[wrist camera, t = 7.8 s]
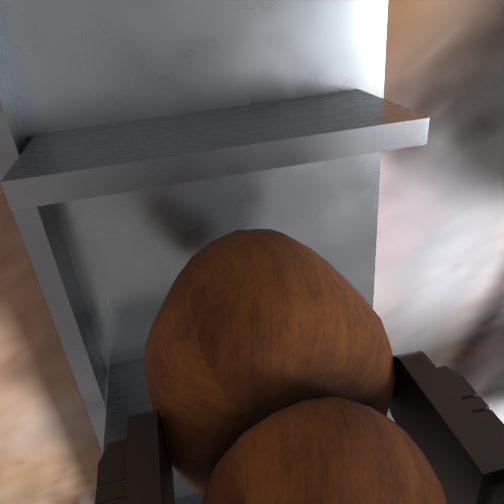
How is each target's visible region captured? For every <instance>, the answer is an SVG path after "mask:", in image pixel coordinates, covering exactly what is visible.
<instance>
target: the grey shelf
mask: <svg viewBox="0 0 504 504" xmlns="http://www.w3.org/2000/svg"><path fill="white" fill-rule="evenodd" d="M387 15H388V0H0V184H1V187H2V190H3V192H4V195H5V198H6V200H7V203H8V206H9V208H10V211H12V214H13V216H14V219H15V222H16V224H17V227H18V230H19V232H20V235H21V238H22V240H23V243H24V246H25V248H26V251H27V254H28V256H29V259H30V262H31V264H32V267H33V270H34V272H35V275H36V278H37V280H38V283H39V286H40V288H41V291H42V294H43V296H44V299H45V302H46V304H47V307H48V310H49V312H50V315H51V318H52V320H53V323H54V326H55V328H56V331H57V334H58V336H59V339H60V342H61V344H62V347H63V350H64V352H65V355H66V358H67V360H68V363H69V366H70V368H71V371H72V374H73V376H74V379H75V382H76V384H77V387H78V390H79V392H80V395H81V398H82V400H83V403H84V406H85V408H86V411H87V414H88V416H89V419H90V422H91V424H92V427H93V430H94V432H95V435H96V438H97V440H98V443H99V446H100V448H101V451H102V454H104V452H105V450H106V448H107V446H108V444H109V443H111V442H116V441H120V440H124V439H127V419H128V415H132V414H137V413H141V412H145V411H150V404H149V398H148V391H147V385H146V378H145V351H144V348H145V345H146V341H147V338H148V335H149V332H150V329H151V326H152V324H153V322H154V320H155V318H156V316H157V314H158V312H159V310H160V308H161V306H162V304H163V302H164V300H165V298H166V296H167V294H168V292H169V290H170V288H171V286H172V284H173V282H174V281H175V279H176V277H177V276H178V274H179V273H180V272H181V270H182V269H183V268H184V266H185V265H186V264H187V262H188V261H189V260H190V259H191V257H192V256H193V255H194V254H196V253H197V252H198V251H200V250H201V249H202V248H204V247H205V246H206V245H208V244H209V243H210V242H212V241H213V240H215V239H218V238H220V237H222V236H224V235H227V234H229V233H231V232H233V231H236V230H248V229H271V230H275V231H278V232H281V233H284V234H285V235H287V236H289V237H291V238H293V239H295V240H297V241H299V242H301V243H302V244H304V245H306V246H308V247H310V248H311V249H312V250H314V251H315V252H316V253H317V254H319V255H320V256H321V257H323V258H324V259H325V260H327V261H328V262H329V263H330V264H331V265H332V266H333V267H334V268H335V269H336V270H337V271H338V272H339V273H340V274H341V275H343V276H344V277H345V278H346V279H347V280H348V281H349V282H350V283H351V284H352V285H353V286H354V288H355V289H356V290H357V291H358V292H359V293H360V294H361V295H362V296H363V297H364V298H365V300H366V301H367V302H368V303H369V305H370V306H371V307H372V309H373V294H374V274H375V254H376V234H377V214H378V194H379V174H380V155H381V152H382V151H388V150H395V149H401V148H407V147H414V146H420V145H426V144H427V139H428V129H429V119H430V118H429V117H427V116H424V115H422V114H419V113H417V112H415V111H412V110H410V109H407V108H405V107H402V106H400V105H397V104H395V103H392V102H390V101H388V100H385V99H383V95H384V75H385V55H386V35H387ZM172 469H173V480H174V493H175V504H202V500H203V495H202V494H201V493H199V492H198V491H197V490H195V489H194V488H193V487H191V486H190V485H189V484H187V483H186V482H185V481H184V480H183V479H182V477H181V476H180V475H179V474H178V472H177V471H176V470H175V468H174V467H173V466H172Z"/></svg>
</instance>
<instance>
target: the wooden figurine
mask: <svg viewBox="0 0 504 504" xmlns="http://www.w3.org/2000/svg"><path fill="white" fill-rule="evenodd" d="M144 351H145V378H146V385H147V391H148V398H149V404H150V410H154V409H158V410H159V412H160V416H161V421H162V426H163V431H164V436H165V441H166V446H167V451H168V456H169V460H170V463H171V464H172V466H173V467H174V468H175V470H176V471H177V472H178V474H179V475H180V476H181V477H182V479H183V480H184V481H185V482H186V483H187V484H189V485H190V486H191V487H193V488H194V489H195V490H197V491H198V492H199V493H201V494H202V495H203V500H202V504H447V501H446V497H445V494H444V490H443V487H442V485H441V483H440V481H439V479H438V478H437V476H436V474H435V472H434V470H433V468H432V467H431V465H430V463H429V461H428V459H427V458H426V456H425V454H424V453H423V452H422V451H421V449H420V448H419V447H418V446H417V444H416V443H415V442H414V441H413V439H412V438H411V437H410V436H409V434H408V433H407V432H406V431H405V430H404V429H402V428H401V427H400V426H399V425H397V424H396V423H395V422H394V421H392V420H391V419H390V418H388V417H386V415H387V412H388V409H389V405H390V402H391V399H392V394H393V389H394V383H395V378H396V367H395V363H394V359H393V355H392V351H391V347H390V343H389V340H388V338H387V335H386V332H385V329H384V327H383V324H382V321H381V319H380V318H379V316H378V315H377V314H376V312H375V311H374V310H373V309H372V307H371V306H370V305H369V303H368V302H367V301H366V300H365V298H364V297H363V296H362V295H361V294H360V293H359V292H358V291H357V290H356V289H355V288H354V286H353V285H352V284H351V283H350V282H349V281H348V280H347V279H346V278H345V277H344V276H343V275H341V274H340V273H339V272H338V271H337V270H336V269H335V268H334V267H333V266H332V265H331V264H330V263H329V262H328V261H327V260H325V259H324V258H323V257H321V256H320V255H319V254H317V253H316V252H315V251H314V250H312V249H311V248H310V247H308V246H306V245H304V244H302V243H301V242H299V241H297V240H295V239H293V238H291V237H289V236H287V235H285V234H284V233H281V232H278V231H275V230H271V229H248V230H236V231H233V232H231V233H229V234H227V235H224V236H222V237H220V238H218V239H215V240H213V241H212V242H210V243H209V244H208V245H206V246H205V247H204V248H202V249H201V250H200V251H198V252H197V253H196V254H194V255H193V256H192V257H191V259H190V260H189V261H188V262H187V264H186V265H185V266H184V268H183V269H182V270H181V272H180V273H179V274H178V276H177V277H176V279H175V281H174V282H173V284H172V286H171V288H170V290H169V292H168V294H167V296H166V298H165V300H164V302H163V304H162V306H161V308H160V310H159V312H158V314H157V316H156V318H155V320H154V322H153V324H152V326H151V329H150V332H149V335H148V338H147V341H146V345H145V348H144Z"/></svg>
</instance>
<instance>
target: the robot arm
mask: <svg viewBox="0 0 504 504" xmlns="http://www.w3.org/2000/svg"><path fill="white" fill-rule="evenodd" d="M393 359H394V363H395V367H396V378H395V383H394V389H393V394H392V399H391V402H390V405H389V408H390V411H391V414H392V417H393V419H394V421H395V422H396V424H397V425H399V426H400V427H401V428H402V429H404V430H405V431H406V432H407V433H408V434H409V436H410V437H411V438H412V439H413V441H414V442H415V443H416V444H417V446H418V447H419V448H420V449H421V451H422V452H423V453H424V454H425V456H426V458H427V459H428V461H429V463H430V465H431V467H432V468H433V470H434V472H435V474H436V476H437V478H438V479H439V481H440V483H441V485H442V487H443V490H444V494H445V497H446V501H447V504H504V424H503V423H502V422H501V421H500V419H499V418H498V417H497V416H496V415H495V414H494V412H493V411H492V410H489V407H488V405H487V404H486V403H485V402H484V401H483V400H482V398H481V397H478V395H477V393H476V391H475V390H474V389H473V388H472V387H471V386H470V384H469V383H468V382H467V381H466V380H465V379H464V378H463V377H462V376H460V375H459V374H457V373H455V372H454V371H452V370H451V369H449V368H448V367H446V366H442V367H438V368H436V367H435V366H434V364H433V363H432V362H431V361H430V359H429V358H428V357H427V356H426V355H425V353H423V352H422V351H416V352H411V353H407V354H402V355H398V356H393ZM95 504H175V493H174V480H173V469H172V464H171V463H170V460H169V456H168V451H167V446H166V441H165V436H164V431H163V426H162V421H161V416H160V412H159V410H158V409H154V410H150V411H145V412H141V413H137V414H132V415H128V419H127V439H124V440H120V441H116V442H111V443H109V444H108V446H107V448H106V450H105V452H104V454H103V456H102V458H101V460H100V462H99V464H98V475H97V490H96V499H95Z"/></svg>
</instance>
